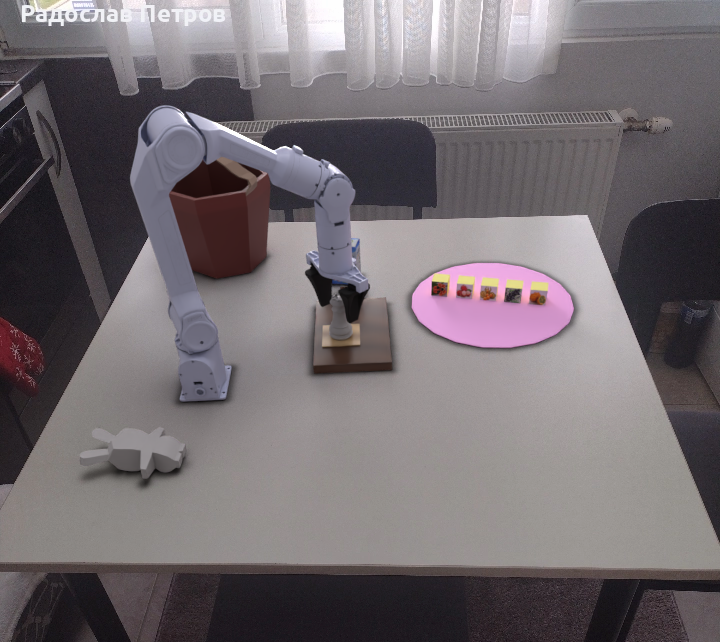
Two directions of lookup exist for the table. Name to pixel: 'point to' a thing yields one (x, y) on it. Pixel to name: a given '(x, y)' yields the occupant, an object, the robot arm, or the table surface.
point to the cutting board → (354, 340)
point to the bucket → (223, 217)
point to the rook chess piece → (339, 320)
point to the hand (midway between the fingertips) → (339, 312)
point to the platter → (492, 305)
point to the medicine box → (355, 255)
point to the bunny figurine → (137, 451)
